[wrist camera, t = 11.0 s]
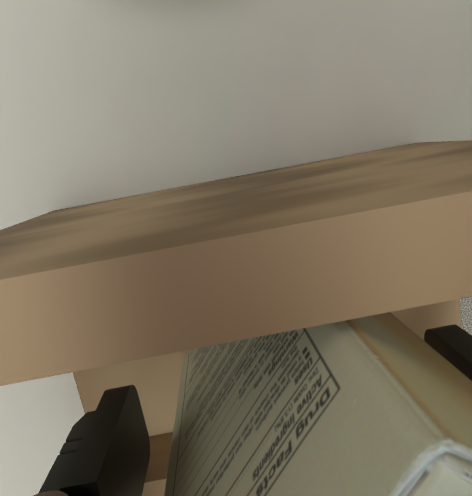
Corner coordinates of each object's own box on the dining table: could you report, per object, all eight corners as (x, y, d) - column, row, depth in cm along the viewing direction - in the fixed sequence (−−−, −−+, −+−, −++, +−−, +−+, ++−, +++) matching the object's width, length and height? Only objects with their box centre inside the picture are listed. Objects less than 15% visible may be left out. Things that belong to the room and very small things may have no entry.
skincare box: (273, 411, 17) (410, 1014, 5) (178, 361, 16) (80, 920, 4) (365, 277, 16) (806, 644, 4) (267, 218, 15) (453, 450, 3)
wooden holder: (416, 142, 17) (823, 125, 6) (435, 371, 20) (753, 688, 8) (54, 210, 17) (-276, 331, 6) (116, 432, 20) (-28, 841, 8)
